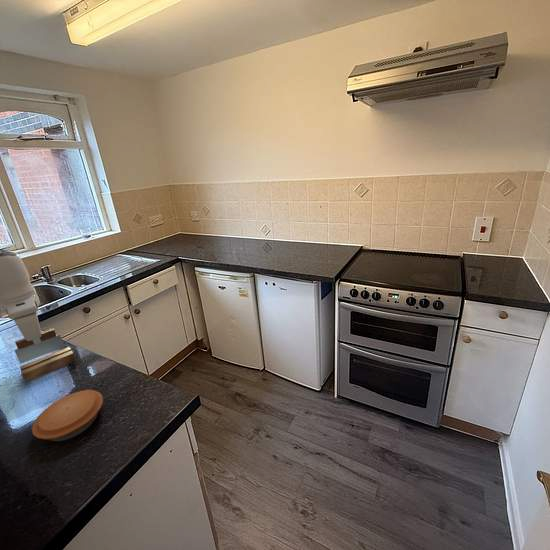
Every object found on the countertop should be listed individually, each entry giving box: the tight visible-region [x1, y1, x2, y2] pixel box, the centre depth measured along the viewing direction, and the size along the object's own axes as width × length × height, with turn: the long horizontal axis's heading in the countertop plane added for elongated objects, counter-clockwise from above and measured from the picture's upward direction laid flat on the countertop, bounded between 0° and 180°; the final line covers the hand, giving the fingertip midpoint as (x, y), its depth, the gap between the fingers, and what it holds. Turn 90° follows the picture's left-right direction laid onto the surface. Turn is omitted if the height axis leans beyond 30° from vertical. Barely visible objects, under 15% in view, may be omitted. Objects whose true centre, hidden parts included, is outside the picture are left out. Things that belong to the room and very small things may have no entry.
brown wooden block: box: [13, 327, 66, 365], centre depth 96 cm, size 12×2×7 cm, turn 132°
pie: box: [31, 389, 104, 442], centre depth 76 cm, size 15×16×5 cm
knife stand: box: [19, 346, 77, 383], centre depth 99 cm, size 14×6×4 cm, turn 132°
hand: (37, 341), depth 95 cm, fingers closed on brown wooden block, 2 cm apart
